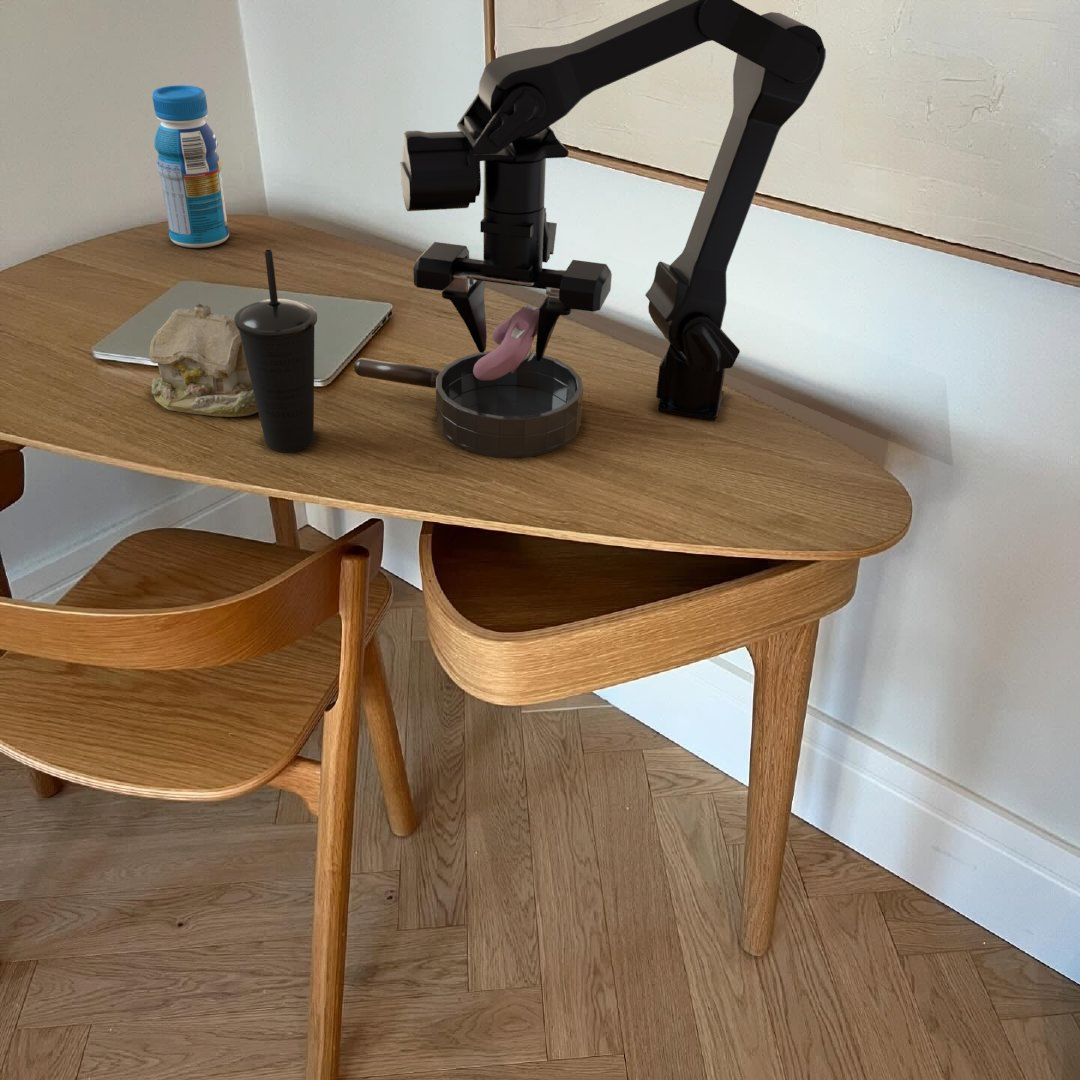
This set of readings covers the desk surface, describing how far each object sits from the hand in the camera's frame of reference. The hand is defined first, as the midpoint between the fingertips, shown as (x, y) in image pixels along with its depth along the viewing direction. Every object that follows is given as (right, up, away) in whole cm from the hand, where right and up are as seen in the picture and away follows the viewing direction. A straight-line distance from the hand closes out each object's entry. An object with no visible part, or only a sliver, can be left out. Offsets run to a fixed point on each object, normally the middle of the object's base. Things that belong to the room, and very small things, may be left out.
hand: (511, 355), depth 112 cm
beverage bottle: (-45, +24, +43) cm, 67 cm away
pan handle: (-12, -2, +5) cm, 13 cm away
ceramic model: (-32, -3, +7) cm, 33 cm away
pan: (0, -6, +4) cm, 8 cm away
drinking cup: (-23, -9, 0) cm, 24 cm away
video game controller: (0, -1, +1) cm, 1 cm away
